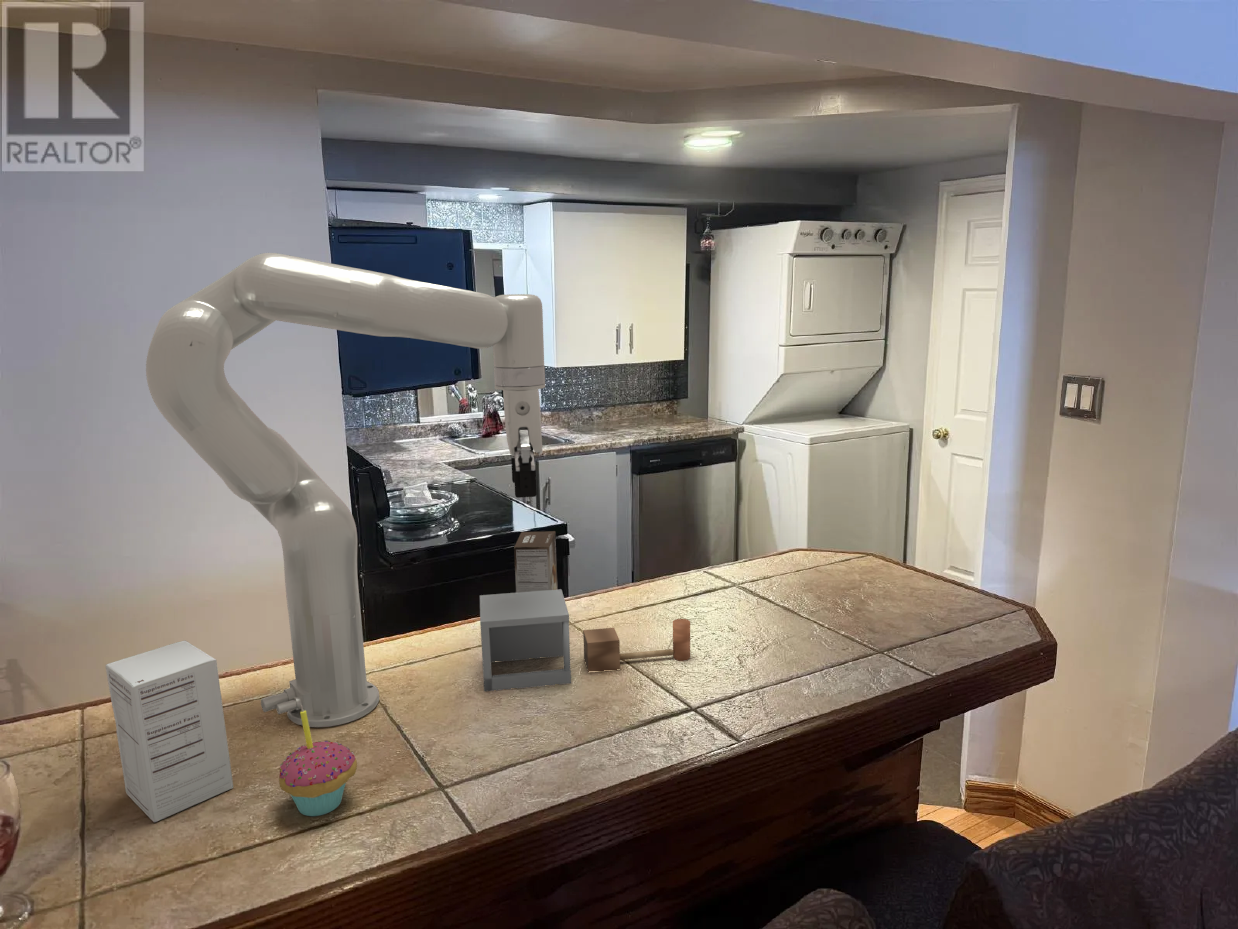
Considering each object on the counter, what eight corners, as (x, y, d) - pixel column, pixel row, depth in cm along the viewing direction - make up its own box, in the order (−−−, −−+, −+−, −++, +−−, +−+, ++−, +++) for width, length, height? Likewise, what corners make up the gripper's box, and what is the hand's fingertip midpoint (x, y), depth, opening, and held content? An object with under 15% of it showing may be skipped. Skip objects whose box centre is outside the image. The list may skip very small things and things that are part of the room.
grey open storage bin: (484, 691, 123) (480, 622, 121) (483, 659, 134) (479, 595, 132) (571, 683, 126) (568, 614, 123) (563, 652, 136) (561, 589, 134)
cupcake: (266, 810, 96) (255, 715, 93) (328, 775, 103) (320, 685, 100) (313, 836, 91) (303, 736, 89) (375, 797, 98) (367, 704, 96)
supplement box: (235, 788, 100) (219, 659, 97) (153, 825, 94) (133, 687, 90) (202, 760, 107) (186, 637, 103) (123, 792, 100) (103, 662, 96)
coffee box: (524, 615, 152) (520, 530, 149) (559, 614, 152) (556, 530, 149) (517, 635, 143) (513, 546, 140) (554, 635, 143) (551, 546, 140)
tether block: (588, 673, 129) (587, 637, 128) (584, 659, 134) (583, 624, 132) (694, 663, 132) (694, 627, 130) (686, 649, 136) (686, 615, 135)
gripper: (549, 383, 117) (553, 501, 120) (540, 372, 134) (544, 476, 137) (495, 385, 116) (501, 504, 119) (493, 373, 132) (498, 478, 136)
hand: (524, 489), depth 128 cm, fingers open, 9 cm apart
